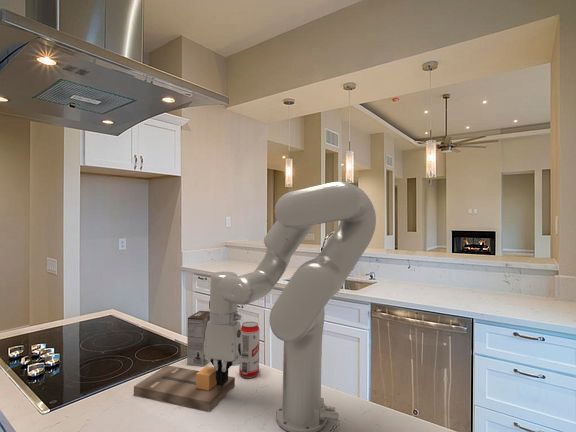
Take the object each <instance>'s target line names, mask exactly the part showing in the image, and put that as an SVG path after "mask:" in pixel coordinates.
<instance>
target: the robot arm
mask: <svg viewBox="0 0 576 432" xmlns="http://www.w3.org/2000/svg"><path fill="white" fill-rule="evenodd" d="M274 217H275V219H276V221H275V222H274V223H273V225H272V227H270V229H269V231H268V232H267V234H265V236H264V239H263V244H264V246H265V247H266V251H265V254H264V257H263V259H262V260H261V262H259V264H258V266H257V267H256V268H255V269H254V271H253V272H249V273H244V274H241V275H238V274H236V272H233V271H216V272H213V274H212V275H210V288H209V289H210V292H209V311H210V320H209V321H208V323H207V327H206V332H205V339H204V355H205V357H204V359H205V360H207V361H209V362H210V363H211V365H212V367H214V370H216V385H217V386H219V385H220V386H223V385H224V384H225V383H226V382H227V381H228V376H229V369H230V368H231V367H235V366H236V367H237V366H239V364H240V363H241V360H240V356H241V355H242V353H243V343H242V331H241V327H242V324H241V322H240V321H241V320H242V315H241V314H239V311H238V305H241V306H242V305H243V306H245V305H249V304H251V303H253V302H255V301H257V300H260V299H261V298H264V297H266V296H268V295H269V293H271V291H272V290H273V288H274V287H275V286H276V285H277V284H278V282H279V281H280V279H281V278H282V277H283V275H284V273H285V272H286V271H287V268H288V265H289V263H290V261H291V258H292V256H293V255H294V254H295V252H296V251H297V249H298V247H300V245H301V244H302V243H303V242H304V240H305V239H306V238H307V236H308V234H309V233H310V231H312V229H313V227H315V226H316V225H317V226H318V225H321V224H322V225H323V224H327V223H332V222H338V221H339V224H338V226H337V228H336V229H335V230H334V232H333V233H332V234H331V236H330V237H329V239H328V240H327V242H326V244H325V245H324V246H323V248H322V250H321V251H320V252H319V254H318V255H317V256H316V257H314V258H312V259H310V260H308V261H306V262H304V263H302V264H301V265H300V266H299V267H298V268H297V269H296V270H295V272H294V273H293V274H292V276H291V278H290V279H289V281H288V282H287V283H286V285H285V287H284V288H283V290H282V291H281V293H280V294H279V296H278V298H276V301H275V302H274V304H273V306H272V308H271V310H270V313H269V327H270V329H271V332H272V333H273V335H274V336H275V337H276V338H277V339H279V340H280V341H283V359H282V360H283V361H282V362H283V363H282V365H283V366H282V369H283V370H282V404H281V405H280V406H279V407H278V409H277V410H276V414H275V419H276V422H277V424H278V426H279V427H280V428H282V429H283V430H284V431H287V432H319V431H321V430H322V429H324V427H325V426H326V425H327V421H328V420H329V421H331V422H336V423H337V422H339V416H340V415H339V412H338V411H336V407H335V406H328V405H326V403H325V398H324V397H322V360H323V359H322V356H323V354H322V352H323V335H324V324H325V315H326V314H325V307H326V306H327V304H328V303H329V301H330V300H331V299H332V298H333V297H334V296H335V295H336V294H338V293H339V292H340V291H341V290H342V288H343V286H344V284H345V282H346V280H347V279H348V277H349V276H350V274H351V272H353V270H354V268H355V267H356V265H357V264H358V262H359V261H360V259H361V257H362V256H363V254H364V253H365V252H366V250H367V248H368V246H369V245H370V243H371V241H372V238H373V237H374V234H375V232H376V231H375V230H376V225H377V215H376V210H375V208H374V205H373V202H372V200H371V199H370V197H369V196H368V194H367V193H366V192H365V191H364V190H363V189H362V188H360V187H359V186H357V185H355V184H352V183H350V182H348V181H341V180H340V181H331V182H327V183H322V184H318V185H313V186H310V187H305V188H302V189H296V190H292V191H289V192H286V193H284V194H283V195H282V196H281V197H280V198H278V200H277V202H276V204H275V206H274ZM209 362H208V363H209Z"/></svg>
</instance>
